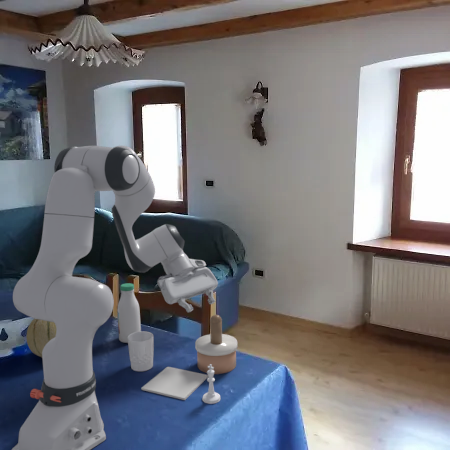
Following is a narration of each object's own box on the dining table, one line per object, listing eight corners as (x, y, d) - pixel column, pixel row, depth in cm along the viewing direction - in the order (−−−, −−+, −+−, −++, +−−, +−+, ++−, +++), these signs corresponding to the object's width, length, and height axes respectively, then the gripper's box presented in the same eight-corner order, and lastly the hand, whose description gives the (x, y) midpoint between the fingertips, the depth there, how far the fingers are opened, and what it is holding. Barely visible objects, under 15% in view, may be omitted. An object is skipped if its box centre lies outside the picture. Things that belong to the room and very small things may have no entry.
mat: (184, 400, 130) (184, 398, 130) (141, 389, 136) (141, 387, 136) (208, 376, 143) (208, 375, 143) (167, 368, 149) (167, 366, 148)
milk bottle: (145, 337, 172) (143, 283, 169) (130, 345, 166) (127, 289, 162) (129, 333, 176) (126, 280, 173) (114, 340, 170) (111, 286, 166)
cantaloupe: (46, 370, 149) (42, 324, 146) (18, 359, 157) (14, 315, 154) (84, 352, 161) (81, 309, 158) (56, 342, 169) (53, 301, 166)
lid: (226, 359, 141) (226, 325, 139) (187, 351, 146) (186, 319, 144) (243, 341, 152) (243, 310, 151) (207, 335, 158) (206, 305, 156)
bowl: (226, 377, 142) (226, 358, 141) (190, 369, 147) (190, 351, 146) (242, 360, 153) (241, 342, 152) (208, 353, 158) (207, 336, 157)
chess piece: (214, 405, 127) (213, 370, 126) (198, 400, 130) (197, 366, 128) (224, 397, 131) (223, 362, 130) (209, 392, 134) (208, 358, 132)
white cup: (149, 373, 146) (148, 342, 144) (125, 371, 147) (123, 340, 145) (158, 361, 153) (157, 332, 151) (135, 360, 155) (133, 330, 153)
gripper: (159, 272, 147) (181, 310, 142) (207, 259, 162) (229, 293, 157) (151, 283, 151) (172, 321, 146) (199, 270, 165) (219, 304, 160)
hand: (202, 306), depth 151 cm, fingers open, 8 cm apart
